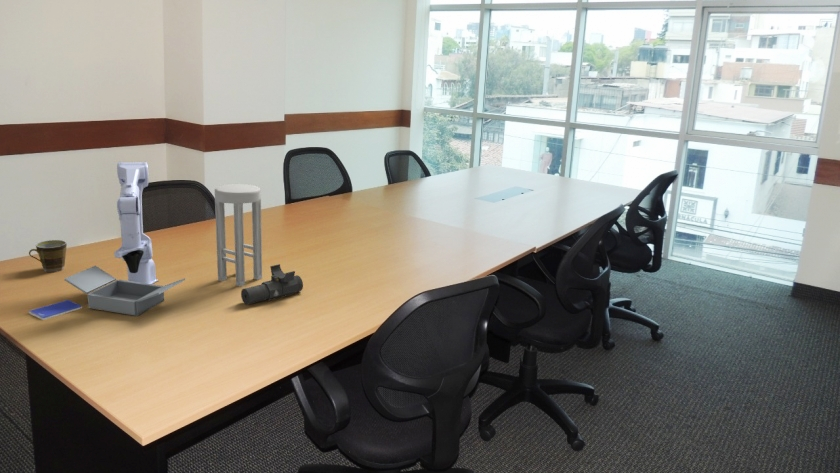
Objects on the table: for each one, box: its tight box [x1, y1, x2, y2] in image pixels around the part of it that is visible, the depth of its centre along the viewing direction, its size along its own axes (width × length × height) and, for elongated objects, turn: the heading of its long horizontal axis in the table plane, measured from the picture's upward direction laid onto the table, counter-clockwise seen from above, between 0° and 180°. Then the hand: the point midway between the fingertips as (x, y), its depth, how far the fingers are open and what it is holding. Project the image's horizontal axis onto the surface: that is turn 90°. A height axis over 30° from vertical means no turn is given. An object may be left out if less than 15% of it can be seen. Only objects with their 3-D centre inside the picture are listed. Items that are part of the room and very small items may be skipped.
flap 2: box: [137, 278, 186, 302], centre depth 210 cm, size 14×9×1 cm, turn 166°
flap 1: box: [64, 265, 117, 295], centre depth 216 cm, size 14×9×1 cm, turn 166°
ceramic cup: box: [28, 239, 67, 273], centre depth 240 cm, size 13×10×10 cm
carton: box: [87, 279, 165, 317], centre depth 214 cm, size 15×18×5 cm
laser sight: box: [240, 264, 304, 306], centre depth 226 cm, size 10×22×10 cm, turn 135°
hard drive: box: [28, 299, 83, 321], centre depth 207 cm, size 2×8×12 cm
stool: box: [214, 183, 263, 287], centre depth 238 cm, size 16×16×35 cm
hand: (133, 272), depth 214 cm, fingers closed
